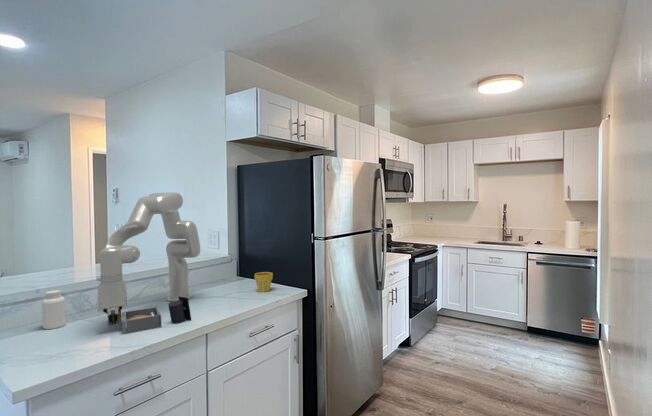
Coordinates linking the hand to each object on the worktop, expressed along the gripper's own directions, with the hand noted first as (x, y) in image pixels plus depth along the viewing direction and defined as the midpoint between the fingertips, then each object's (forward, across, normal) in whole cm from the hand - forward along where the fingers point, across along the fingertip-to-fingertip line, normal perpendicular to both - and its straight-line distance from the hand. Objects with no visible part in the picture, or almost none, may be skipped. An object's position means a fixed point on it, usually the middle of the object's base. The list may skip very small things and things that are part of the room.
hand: (113, 323), depth 144 cm
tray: (+3, +10, 0) cm, 11 cm away
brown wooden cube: (+3, +1, +12) cm, 12 cm away
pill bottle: (+3, -21, +21) cm, 30 cm away
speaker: (+3, +24, -4) cm, 25 cm away
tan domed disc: (+1, +9, 0) cm, 9 cm away
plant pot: (+3, +75, +25) cm, 79 cm away
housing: (+3, +10, 0) cm, 11 cm away
